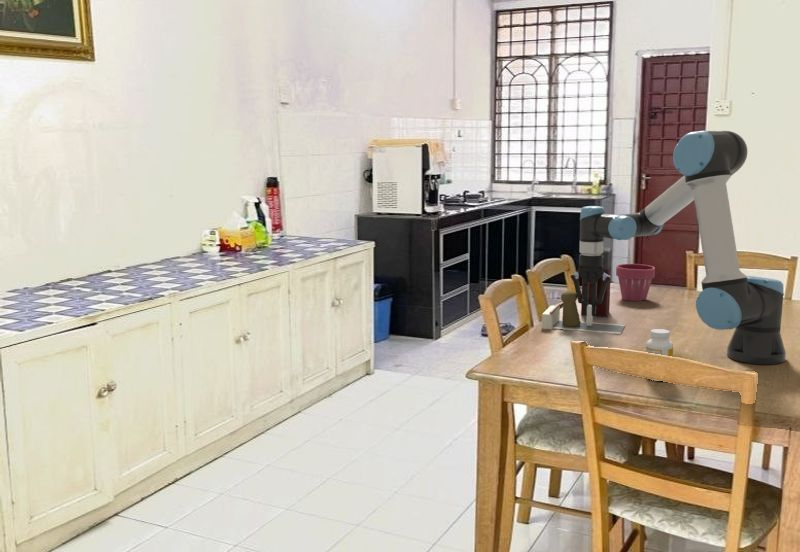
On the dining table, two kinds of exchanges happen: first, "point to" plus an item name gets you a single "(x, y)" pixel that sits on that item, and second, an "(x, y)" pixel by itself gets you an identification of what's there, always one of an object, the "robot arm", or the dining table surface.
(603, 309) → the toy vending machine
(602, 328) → the mat
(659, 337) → the supplement bottle
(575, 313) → the cork
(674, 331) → the dining table surface
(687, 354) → the dining table surface
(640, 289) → the plant pot
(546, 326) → the stop block
